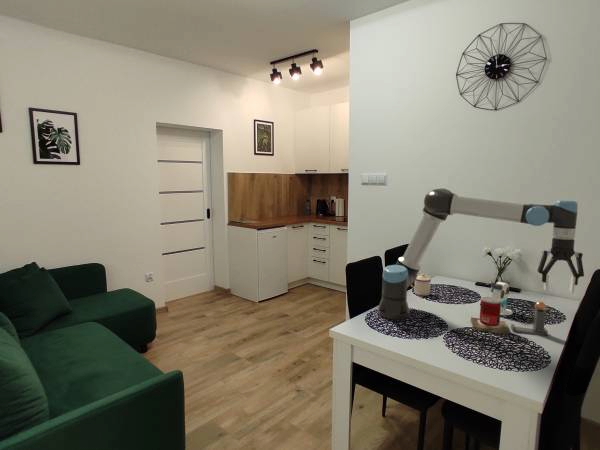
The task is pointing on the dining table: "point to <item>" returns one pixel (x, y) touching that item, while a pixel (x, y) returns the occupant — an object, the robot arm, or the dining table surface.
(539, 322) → the press lever
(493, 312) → the canned food
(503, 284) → the panda figurine
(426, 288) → the teacup with lid
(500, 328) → the plate
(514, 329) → the lever rail
